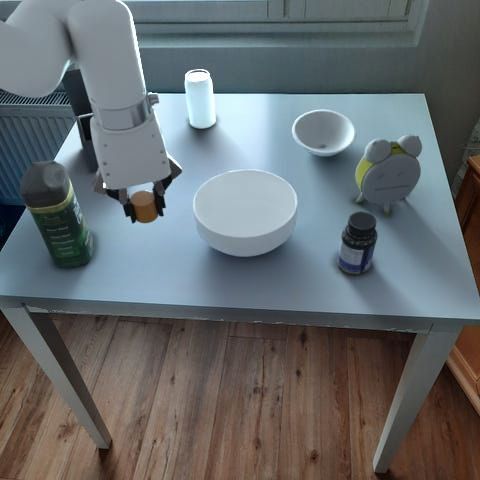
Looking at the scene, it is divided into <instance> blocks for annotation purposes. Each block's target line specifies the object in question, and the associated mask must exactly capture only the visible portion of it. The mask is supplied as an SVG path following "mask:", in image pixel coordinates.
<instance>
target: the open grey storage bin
mask: <svg viewBox="0 0 480 480" xmlns="http://www.w3.org/2000/svg"><path fill="white" fill-rule="evenodd" d="M93 116H94V115H93V113H91V114H86V115H81V116H77V117H75V122H76V126H77V130H78V131H77V132H78V136H79V140H80V144H81V147H82V150H83V153H84V156H85V158H86V162H87V165H88V167H89V169H90V173H95V172H96V173H97V170H98V168H99V165H98V161H97V157H96V153H95V149H94V145H93V141H92V135H91V127H90V120H91V118H92V117H93Z"/></svg>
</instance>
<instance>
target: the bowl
mask: <svg viewBox="0 0 480 480" xmlns="http://www.w3.org/2000/svg"><path fill="white" fill-rule="evenodd" d="M298 208H299V199H298V196H297V193H296V190H295V189H294V187H293V186H292V185H291V184H290V183H289V182H288V181H287V180H286V179H284V178H282V177H281V176H279V175H277V174H275V173H272V172H269V171H265V170H260V169H250V168H249V169H244V168H243V169H235V170H230V171H225V172H223V173H220V174H217V175H215V176H214V177H212V178H210V179H208V180H207V181H206V182H204V183H203V184H202V185H201V186H200V187H199V188H198V189H197V191H196V193H195V195H194V196H193V201H192V213H193V218H194V222H195V226H196V230H197V232H198V235H199V236H200V238H201V239H202V241H203V242H205V243H206V244H207V245H208V246H209V247H211V248H213V249H215V250H216V251H218V252H221V253H223V254H226V255H229V256H233V257H240V258H241V257H243V258H244V257H245V258H247V257H257V256H260V255H265V254H267V253H269V252H271V251H273V250H275V249H276V248H279V247H280V246H281V245H283V244H284V243H285V242H286V241H287V240H288V239H289V238H290V237H291V235H292V234H293V232H294V230H295V227H296V221H297V218H298Z"/></svg>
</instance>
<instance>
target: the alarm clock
mask: <svg viewBox="0 0 480 480" xmlns="http://www.w3.org/2000/svg"><path fill="white" fill-rule="evenodd" d="M422 150H423V144H422V141H421V139H420V136H419V135H415V134H405V135H403V136H401V137H400V138H399V139H398V140H397V141H395V140H394V141H388V140H386V139H384V138H374V139H372V140H371V141H370V142H369V143H367V145H366V147H365V149H364V155H363V156H362V157H361V159H360V160H359V161H358V163H357V166H356V168H355V176H354V177H355V182H356V184H357V186H358V188H359V191H360V194H359V196H358V197H357V198H356V200H355V203H356V204H360V203H361V202H363V201H365V200H366V202H368V203H370V204H373V205H377V206H382V207H383V208H382V209H383V212H384V215H385V216H389V215H390V209H391V205H392V204H394V203H397V202H399V201H401V200H403V199H404V198H406V197H407V196H408V195H409V194H410V193H412V192H413V190H414V189H415V188H416V186H417V185H418V183H419V180H420V179H421V174H422V170H421V169H422V168H421V164H420V161H419V160H418V158H419V156H421V153H422Z"/></svg>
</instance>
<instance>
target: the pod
mask: <svg viewBox="0 0 480 480" xmlns="http://www.w3.org/2000/svg"><path fill="white" fill-rule="evenodd" d="M129 197H130V201H131V204H132V208H133V211H134V215H135V219H136V222H138V223H140V224H150V223H152V222H154V221H156V220H157V219H158V217H159V214H158V209H157V204H156V200H155V196H154V194H153V191H150V190H146V189H144V190H143V189H142V190H138V191H135V192H134V193H132V194H131V195H130V196H129Z"/></svg>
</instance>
